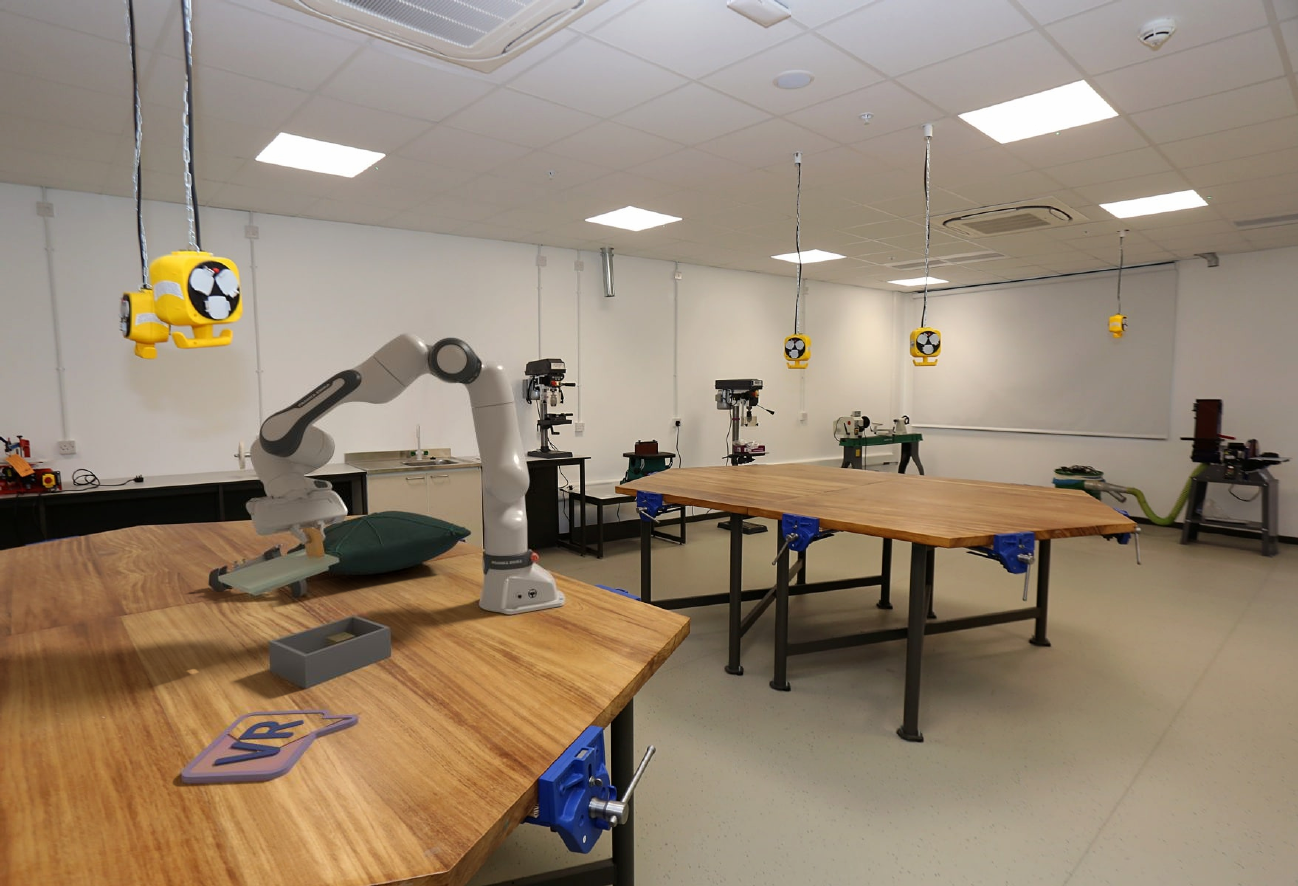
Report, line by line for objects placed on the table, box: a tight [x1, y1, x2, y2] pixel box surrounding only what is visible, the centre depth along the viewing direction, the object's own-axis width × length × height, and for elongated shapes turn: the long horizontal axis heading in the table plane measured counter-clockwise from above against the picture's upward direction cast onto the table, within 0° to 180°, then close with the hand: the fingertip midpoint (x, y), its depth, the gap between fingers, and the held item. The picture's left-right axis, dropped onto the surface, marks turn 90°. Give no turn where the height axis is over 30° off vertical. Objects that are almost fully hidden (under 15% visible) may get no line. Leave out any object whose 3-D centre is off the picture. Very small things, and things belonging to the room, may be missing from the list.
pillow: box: [286, 510, 472, 576], centre depth 204 cm, size 44×18×44 cm
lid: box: [218, 527, 339, 596], centre depth 142 cm, size 19×14×8 cm
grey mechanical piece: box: [207, 543, 308, 598], centre depth 180 cm, size 6×28×16 cm, turn 77°
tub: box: [268, 615, 392, 690], centre depth 132 cm, size 18×13×7 cm
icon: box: [180, 709, 360, 784], centre depth 103 cm, size 19×2×20 cm
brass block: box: [326, 632, 356, 647], centre depth 136 cm, size 4×4×4 cm
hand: (314, 541), depth 148 cm, fingers closed on lid
